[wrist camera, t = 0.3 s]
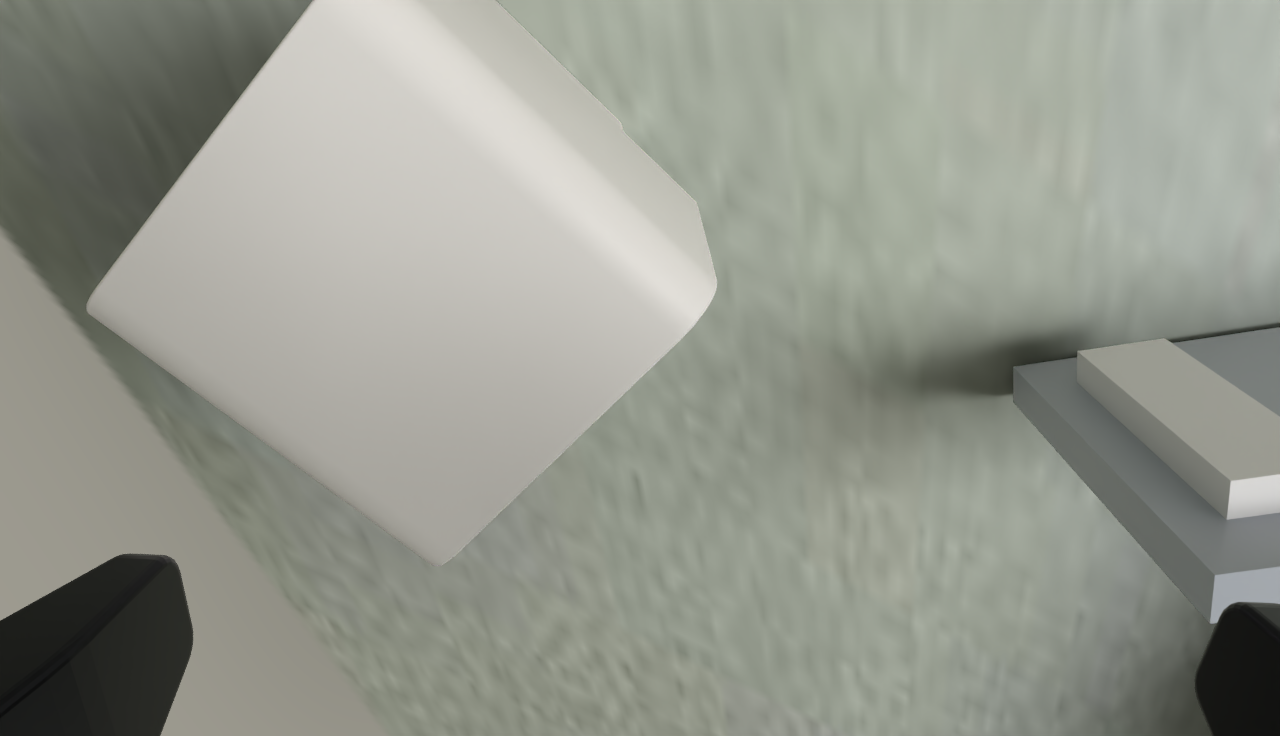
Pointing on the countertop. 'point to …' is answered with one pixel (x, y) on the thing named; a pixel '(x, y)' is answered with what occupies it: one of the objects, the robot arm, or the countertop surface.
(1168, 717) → the countertop surface
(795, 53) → the countertop surface
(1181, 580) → the side door
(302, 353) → the security camera
